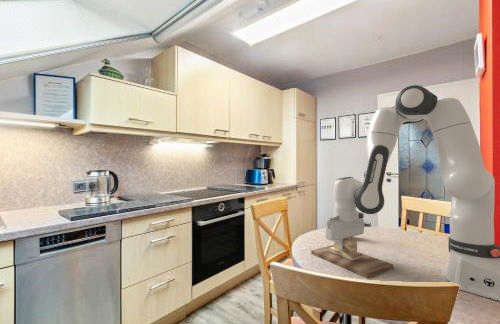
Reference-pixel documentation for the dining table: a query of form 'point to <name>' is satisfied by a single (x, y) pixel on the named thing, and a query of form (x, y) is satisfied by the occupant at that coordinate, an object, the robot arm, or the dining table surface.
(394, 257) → the dining table surface
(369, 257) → the board
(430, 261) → the dining table surface
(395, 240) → the dining table surface
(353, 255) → the sanding block
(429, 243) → the dining table surface
